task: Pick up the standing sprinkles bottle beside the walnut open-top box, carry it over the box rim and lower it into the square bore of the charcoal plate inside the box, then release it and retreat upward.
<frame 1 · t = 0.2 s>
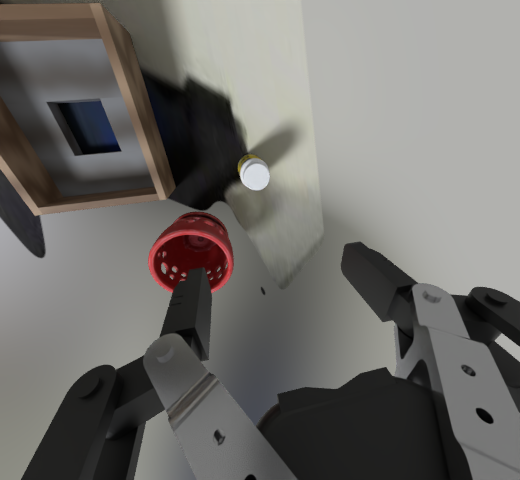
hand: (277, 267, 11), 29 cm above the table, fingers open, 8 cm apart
supplement bottle: (249, 167, 36), on the table
plant pot: (199, 232, 40), on the table
bore box: (94, 128, 29), on the table
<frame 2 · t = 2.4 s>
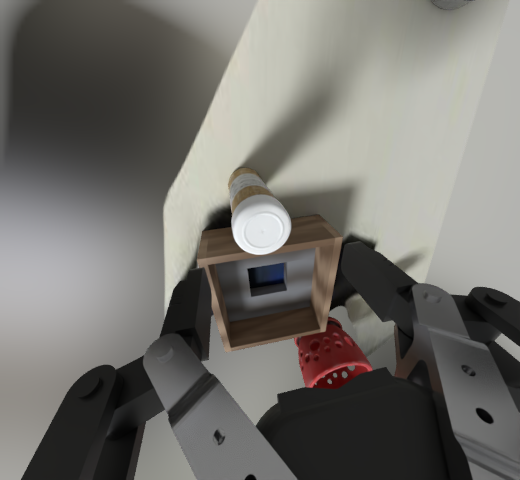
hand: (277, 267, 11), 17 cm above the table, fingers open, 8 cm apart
plant pot: (314, 326, 46), on the table
sprinkles bottle: (244, 184, 26), on the table
bore box: (266, 272, 34), on the table
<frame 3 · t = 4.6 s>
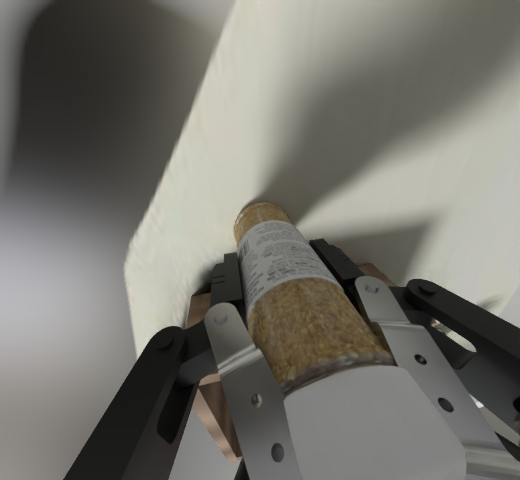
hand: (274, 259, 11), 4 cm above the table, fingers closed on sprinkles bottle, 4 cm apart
sprinkles bottle: (261, 226, 15), on the table, touching gripper
bore box: (286, 338, 24), on the table
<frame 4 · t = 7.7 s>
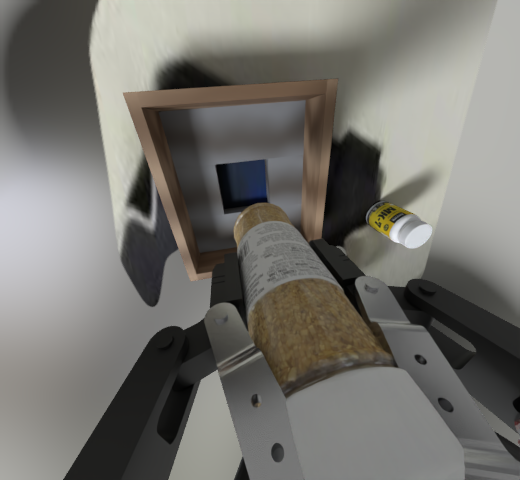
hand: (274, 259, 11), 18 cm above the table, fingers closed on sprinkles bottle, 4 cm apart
supplement bottle: (376, 213, 34), on the table
sprinkles bottle: (260, 226, 15), point 14 cm above the table, touching gripper
bore box: (243, 184, 27), on the table
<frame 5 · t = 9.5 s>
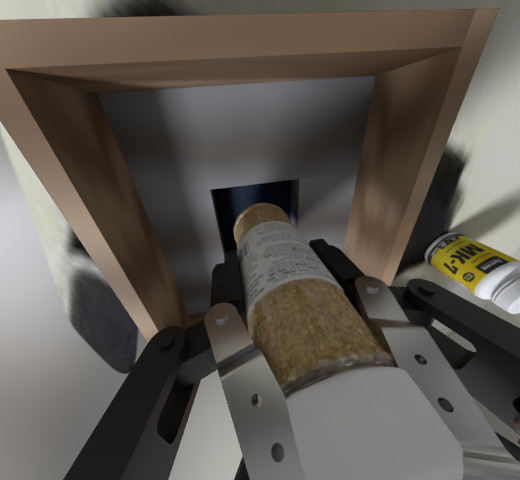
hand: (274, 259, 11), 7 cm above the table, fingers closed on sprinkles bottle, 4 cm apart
supplement bottle: (439, 247, 24), on the table
sprinkles bottle: (260, 226, 15), point 2 cm above the table, touching gripper
bore box: (255, 215, 17), on the table
when the fingers open (6 cm above the table, at t = 10.8 s): sprinkles bottle drops 1 cm, resting in bore box.
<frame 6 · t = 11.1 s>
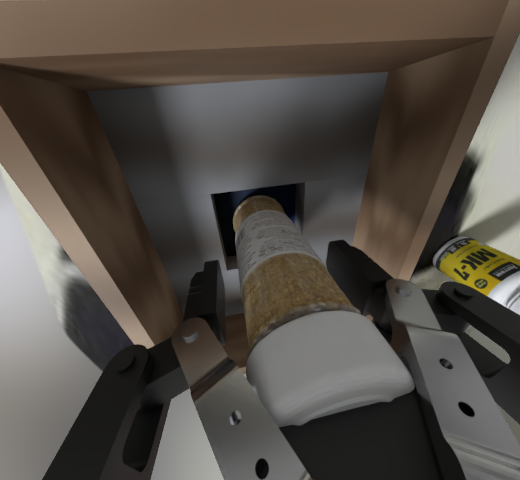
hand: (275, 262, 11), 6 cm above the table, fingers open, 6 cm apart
supplement bottle: (447, 251, 23), on the table
sprinkles bottle: (258, 217, 17), resting in bore box
bore box: (258, 219, 16), on the table
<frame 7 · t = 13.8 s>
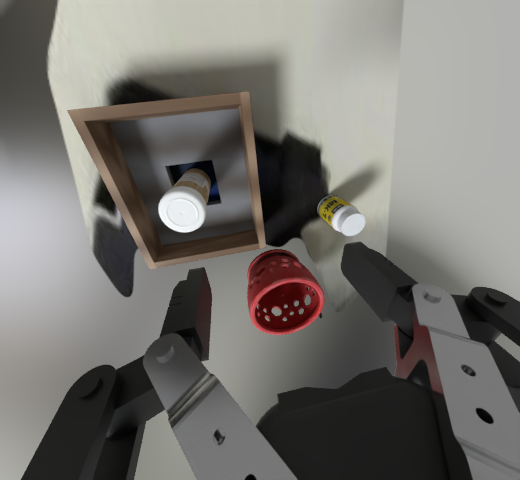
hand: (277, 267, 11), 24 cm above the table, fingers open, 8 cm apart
supplement bottle: (327, 206, 37), on the table
plant pot: (272, 266, 42), on the table
sprinkles bottle: (197, 182, 31), resting in bore box
bore box: (196, 182, 30), on the table
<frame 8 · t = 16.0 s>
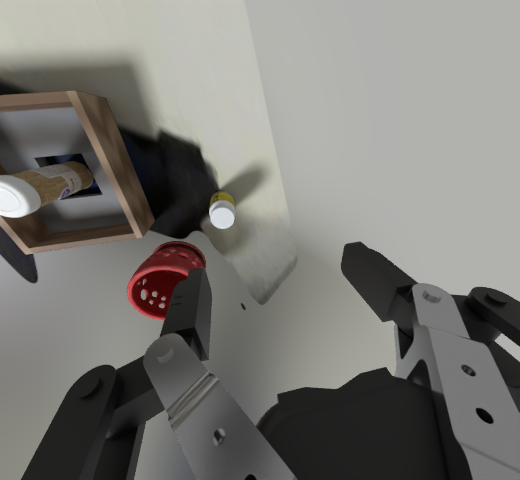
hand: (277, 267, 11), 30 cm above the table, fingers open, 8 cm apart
supplement bottle: (222, 201, 39), on the table
plant pot: (179, 257, 44), on the table
sprinkles bottle: (79, 174, 32), resting in bore box
bore box: (78, 174, 32), on the table
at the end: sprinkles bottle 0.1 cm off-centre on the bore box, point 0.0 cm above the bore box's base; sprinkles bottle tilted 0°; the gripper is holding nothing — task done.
